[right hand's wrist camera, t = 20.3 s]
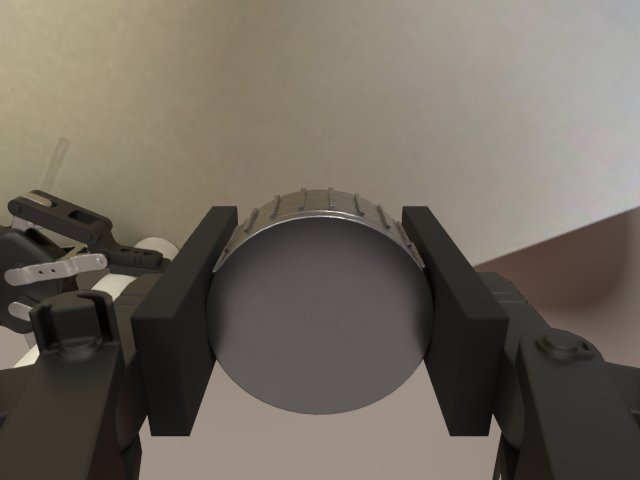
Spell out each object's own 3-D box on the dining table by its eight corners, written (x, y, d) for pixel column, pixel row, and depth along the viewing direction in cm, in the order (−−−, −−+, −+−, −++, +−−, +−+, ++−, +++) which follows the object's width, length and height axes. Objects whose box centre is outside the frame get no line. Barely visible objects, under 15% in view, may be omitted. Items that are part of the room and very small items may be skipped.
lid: (236, 371, 13) (222, 425, 11) (202, 195, 11) (178, 223, 9) (419, 358, 13) (437, 409, 11) (418, 176, 11) (439, 201, 9)
